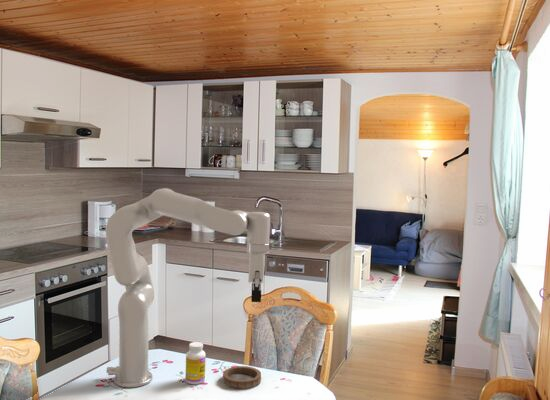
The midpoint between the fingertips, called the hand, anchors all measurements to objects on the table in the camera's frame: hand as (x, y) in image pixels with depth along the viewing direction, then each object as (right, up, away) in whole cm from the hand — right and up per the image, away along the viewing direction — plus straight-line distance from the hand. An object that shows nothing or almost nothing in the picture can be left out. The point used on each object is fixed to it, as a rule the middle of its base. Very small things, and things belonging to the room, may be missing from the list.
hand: (256, 298), depth 170 cm
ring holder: (-5, -29, +2) cm, 30 cm away
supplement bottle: (-21, -29, +1) cm, 36 cm away
